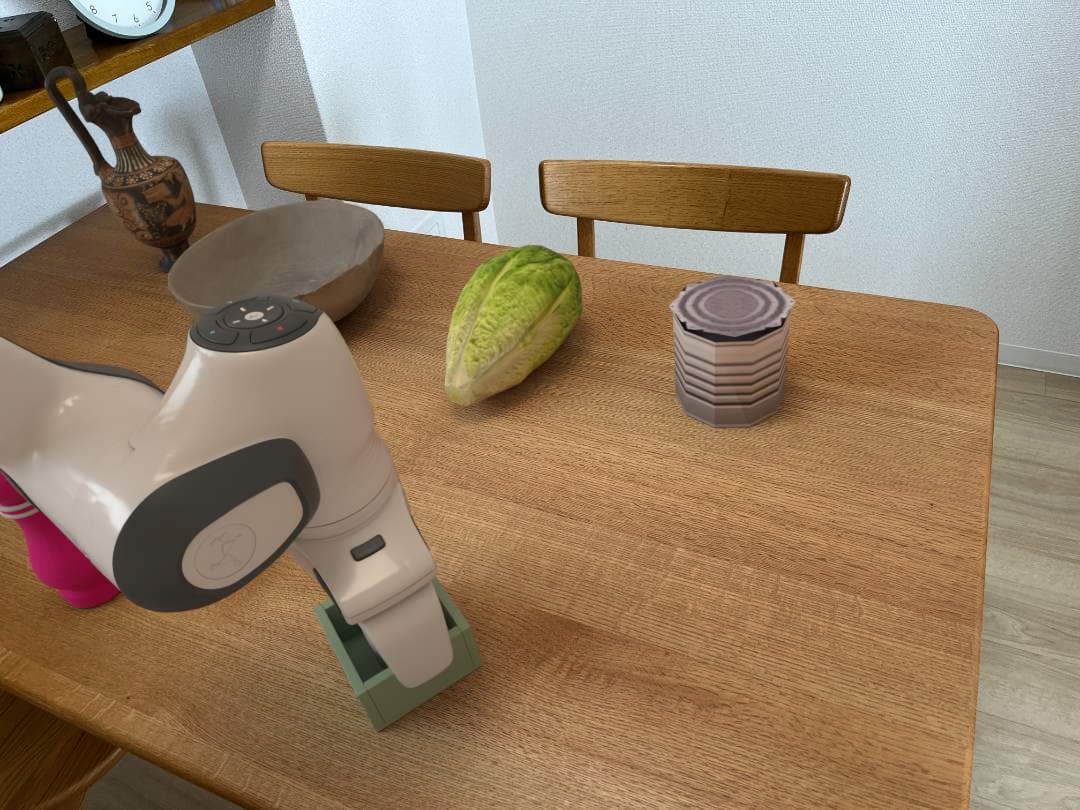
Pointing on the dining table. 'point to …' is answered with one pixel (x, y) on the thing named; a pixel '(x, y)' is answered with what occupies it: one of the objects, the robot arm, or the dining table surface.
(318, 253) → the bowl
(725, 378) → the can
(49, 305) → the dining table surface
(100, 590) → the pepper mill
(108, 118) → the vase
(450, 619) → the bin
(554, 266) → the lettuce
